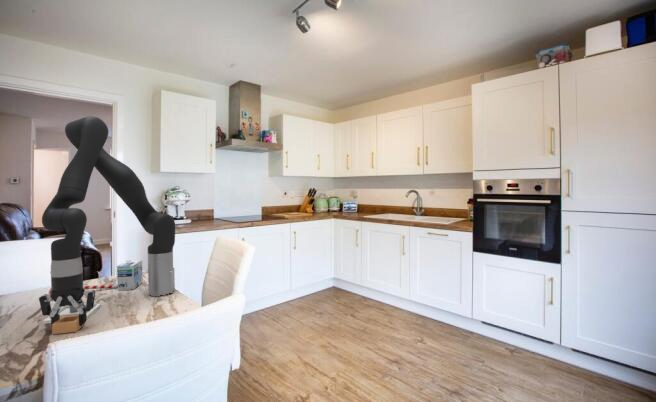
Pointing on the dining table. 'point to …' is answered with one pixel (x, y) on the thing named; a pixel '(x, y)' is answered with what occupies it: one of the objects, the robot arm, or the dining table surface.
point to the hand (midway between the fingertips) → (69, 325)
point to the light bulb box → (129, 274)
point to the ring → (66, 324)
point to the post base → (73, 312)
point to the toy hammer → (94, 287)
